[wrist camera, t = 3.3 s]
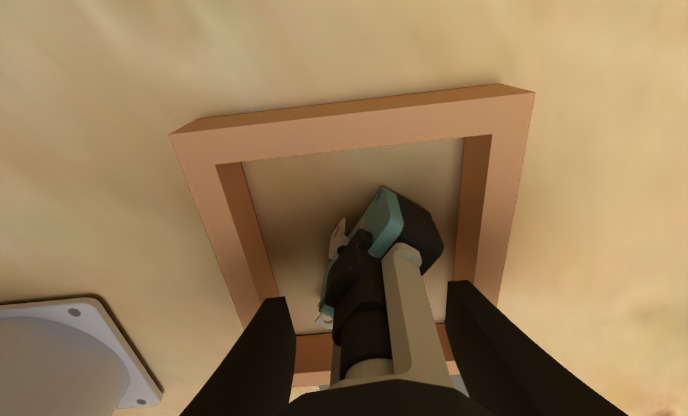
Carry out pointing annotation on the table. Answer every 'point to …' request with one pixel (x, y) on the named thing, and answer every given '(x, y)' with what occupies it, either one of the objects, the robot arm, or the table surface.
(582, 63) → the table surface
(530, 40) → the table surface
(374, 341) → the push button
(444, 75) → the table surface
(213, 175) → the rectangular frame
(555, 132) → the table surface
